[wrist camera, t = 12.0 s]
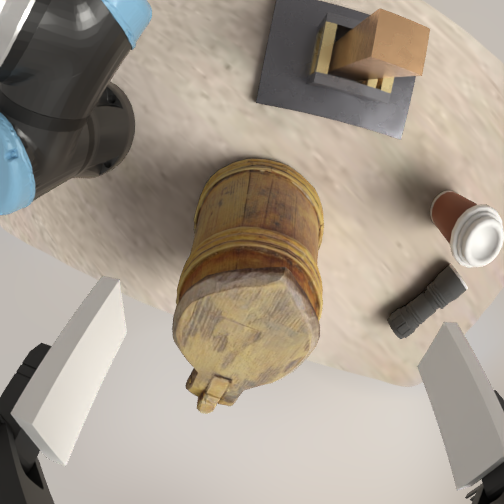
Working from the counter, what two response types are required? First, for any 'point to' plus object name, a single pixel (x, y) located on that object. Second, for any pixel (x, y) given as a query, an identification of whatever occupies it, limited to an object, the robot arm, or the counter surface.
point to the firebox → (326, 70)
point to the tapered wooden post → (380, 48)
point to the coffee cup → (468, 228)
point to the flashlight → (427, 302)
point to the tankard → (250, 281)
